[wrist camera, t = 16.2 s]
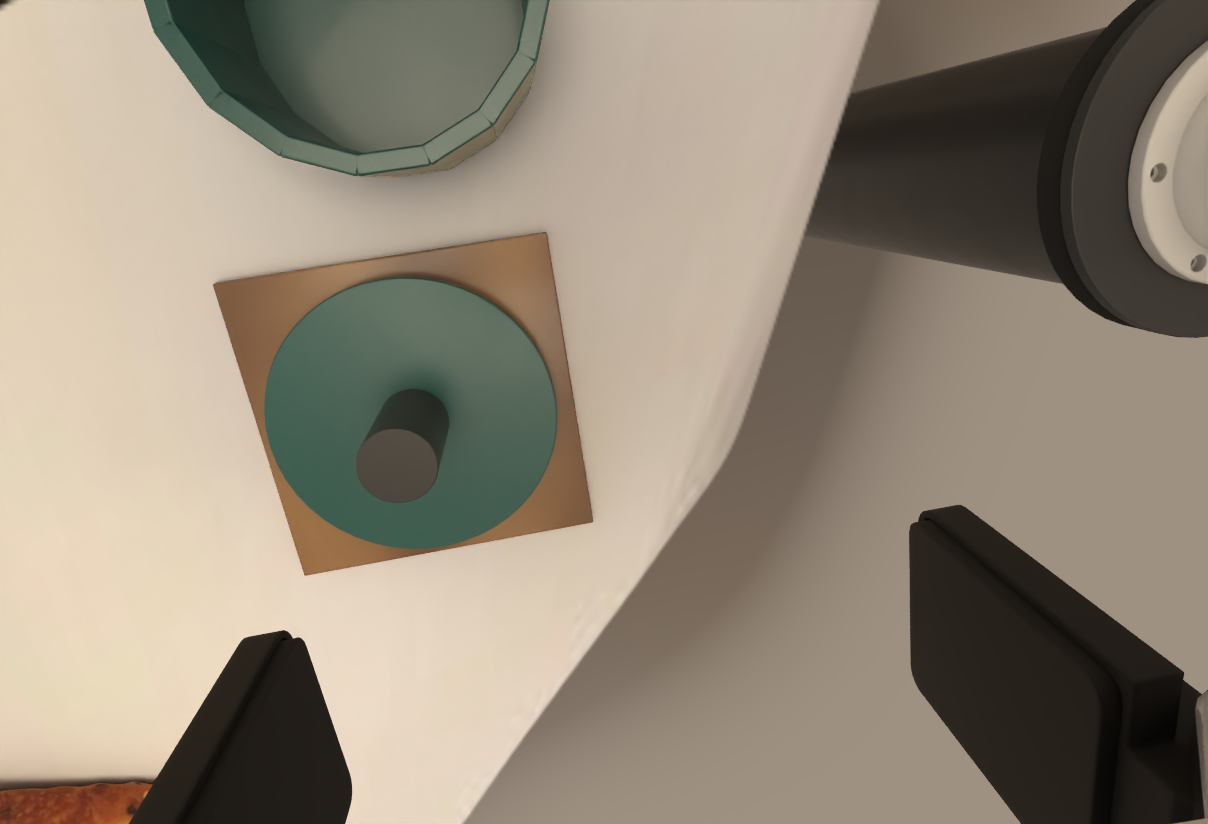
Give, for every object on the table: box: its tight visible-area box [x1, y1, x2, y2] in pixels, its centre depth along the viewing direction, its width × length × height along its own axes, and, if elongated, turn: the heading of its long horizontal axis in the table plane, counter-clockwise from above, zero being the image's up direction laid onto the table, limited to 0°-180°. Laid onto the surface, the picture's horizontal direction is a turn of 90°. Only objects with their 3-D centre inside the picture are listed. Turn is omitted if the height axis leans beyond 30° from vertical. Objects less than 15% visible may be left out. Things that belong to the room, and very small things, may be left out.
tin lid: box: [264, 276, 557, 549], centre depth 31 cm, size 13×13×7 cm
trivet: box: [213, 232, 593, 576], centre depth 35 cm, size 15×15×1 cm
